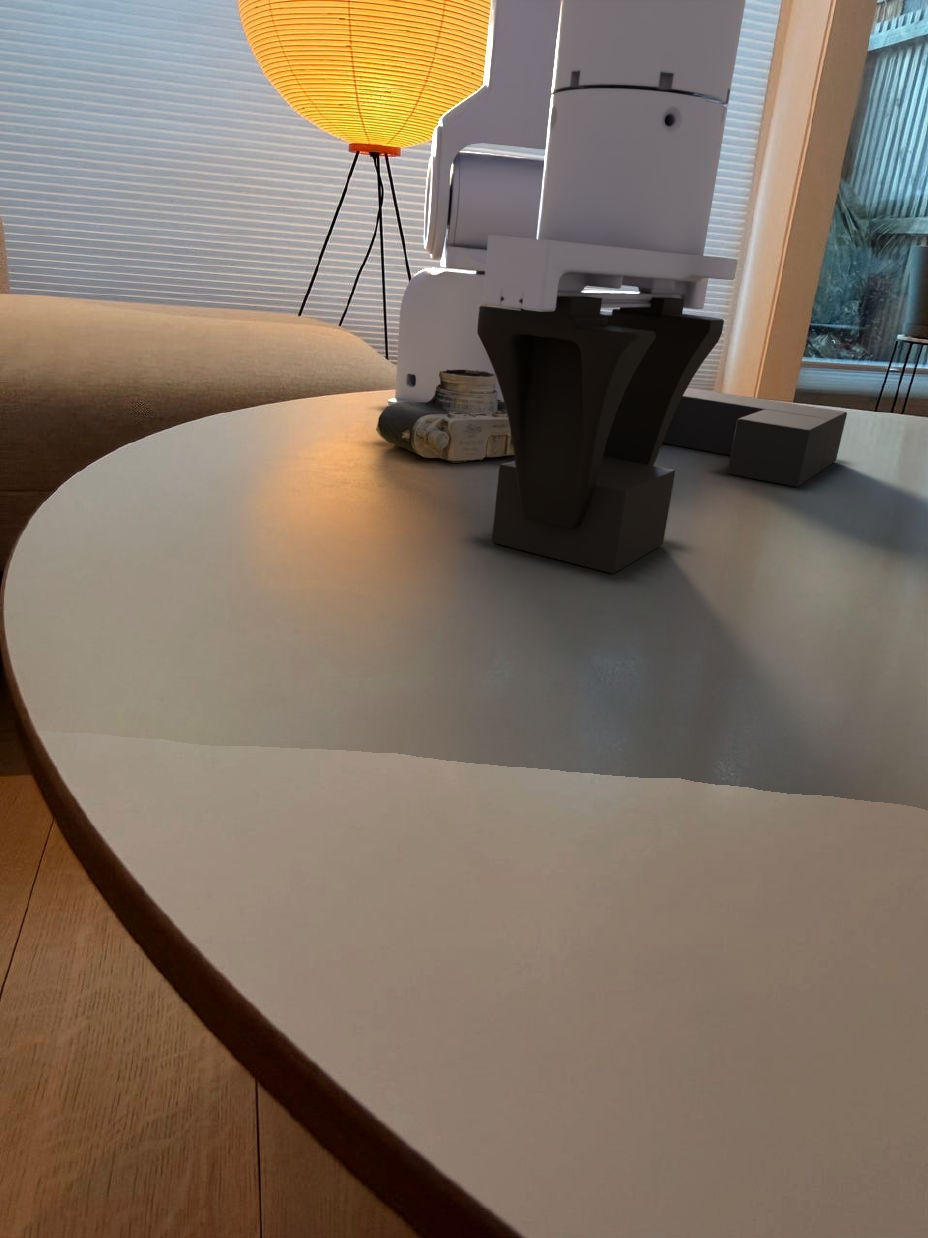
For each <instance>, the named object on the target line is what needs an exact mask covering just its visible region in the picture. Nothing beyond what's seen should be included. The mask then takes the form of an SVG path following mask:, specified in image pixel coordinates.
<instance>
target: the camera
mask: <svg viewBox="0 0 928 1238" xmlns="http://www.w3.org/2000/svg"><path fill="white" fill-rule="evenodd" d="M439 377H440V384H439V385H438V386H437V387H436V391H435V395H434V396H433V398H432V399H431V400H430V401H428V402H407V401H403V402H395V403H393V404H391V405H390V406H388V405H387V406H385V408H384V409H383V410H382V412H381V413H380V414H379V416H378V419H377V420H378V421H377V424H376V428H375V431H376V432H377V434H378V435H379V436H380V438H382V439H383V440H384V441H386V442H388V443H389V444H393V445H396V446H398V447H401V448H402V449H405V450H408V451H409V452H412V453H414V454H416V455H417V456H421V457H422V458H428V459H435V458H436V459H437V458H438V459H442V460H444V461H446V462H448V463H453V464H454V463H458V464H459V463H467V462H468V461H476V460H483V459H484V458H498V457H504V456H514V449H513V443H512V437H511V431H510V425H509V420H508V415H507V411H506V407H505V403H504V401H503V402H502V401H501V400H497V393H498V392H497V391H496V390H495V385H496V375H495V374H491V373H488V372H486V371H479V370H467V369H460V370H446V371H440V373H439Z"/></svg>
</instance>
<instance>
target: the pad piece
mask: <svg viewBox="0 0 928 1238" xmlns="http://www.w3.org/2000/svg"><path fill="white" fill-rule="evenodd" d="M498 467H499V468H498V476H497V485H496V494H495V495H496V497H495V506H494V514H493V515H494V516H493V526H492V536H491V543H492V544H497V545H500V546H504V547H506V548H507V547H508V548H512V549H515V550H520V551H523V552H527V553H530V554H531V553H532V554H534V555H535V554H536V555H539V556H543V557H547V558H550V559H554V560H557V561H561V562H565V563H570V564H573V565H577V566H582V567H585V568H589V569H593V570H597V571H600V572H604V573H608V574H612V575H613V574H616V573H617V572H619V571H620V570H622V569H624V568H625V567H627V566H629V565H630V564H632V563H634V562H636V561H637V560H639V559H641V558H643V557H644V556H646V555H647V554H649V553H651V552H652V551H654V550H656V549H657V548H659V547H661V546H663V545H664V541H665V535H666V529H667V524H668V523H667V522H668V518H669V512H670V507H671V506H670V505H671V500H672V494H673V488H674V482H675V475H676V470H675V469H672V468H667V467H661V466H657V465H654V466H652V465H646V464H641V463H636V462H631V461H626V460H621V459H616V458H611V457H606V456H603V458H602V462H601V466H600V470H599V474H598V478H597V482H596V486H595V489H594V492H593V495H592V498H591V501H590V504H589V507H588V509H587V512H586V514H585V516H584V519H583V521H582V523H581V525H580V527H578V528H575V529H566V528H562V527H558V526H554V525H549V524H545V523H541V522H537V521H533V520H529V519H525V518H524V517H523V513H522V507H521V501H520V495H519V488H518V480H517V472H516V464H515V459H514V460H511V461H508V462H504V463H500V464H499V465H498Z"/></svg>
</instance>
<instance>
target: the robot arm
mask: <svg viewBox="0 0 928 1238" xmlns="http://www.w3.org/2000/svg"><path fill="white" fill-rule="evenodd" d="M745 6H746V0H490V9H489V18H488V19H489V20H488V29H487V31H488V33H487V42H486V54H485V65H484V76H483V85H482V86H481V87H480V88H479V89H477V91H475V92H473V93H472V94H471V95H469V96H467V98H464V99H463V100H462V101H461V102H459V103H458V104H456V105H454V107H452V108H451V109H449V110H447V111H446V112H445V113H444V114H443V115H442V116H441V117H440V118H439V121H438V125H437V126H436V127H435V128H434V129H433V130H434V131H433V133H432V144H431V156H430V158H429V161H428V162H429V163H428V168H427V169H428V170H427V177H426V189H425V201H424V217H423V218H424V222H423V247H424V250H425V251H426V252H427V253H428V254H429V255H430V258H431V260H434V261H440V262H439V264H440V265H439V266H440V267H442V268H437V267H436V268H435V267H432V268H431V267H430V268H424V269H422V270H420V271H418V272H417V273H416V274H413V276H412V277H411V278H410V280H409V282H408V283H407V285H406V288H405V291H404V293H403V297H402V299H401V304H400V309H399V321H398V322H399V323H398V338H397V339H398V341H397V342H398V343H397V344H398V345H397V357H396V358H397V359H396V377H395V378H396V379H395V392H394V393H395V394H394V398H391V399H388V400H387V406H390V405H391V404H393V403H395V402H403V401H407V402H428V401H430V400H431V399H432V398H433V396H434V395H435V391H436V387H437V386H438V385H439V384H440V377H439V373H440V371H446V370H460V369H467V370H479V371H486V372H488V373H491V374H495V375H496V385H495V390H496V391H497V392H498V393H497V400H501V401H502V402H503V401H504V403H505V407H506V411H507V415H508V420H509V425H510V431H511V437H512V443H513V449H514V455H513V456H514V460H515V464H516V472H517V480H518V488H519V495H520V501H521V507H522V513H523V517H524V518H525V519H529V520H533V521H537V522H541V523H545V524H549V525H554V526H558V527H562V528H566V529H575V528H578V527H580V525H581V523H582V521H583V519H584V516H585V514H586V512H587V509H588V507H589V504H590V501H591V498H592V495H593V492H594V489H595V486H596V482H597V478H598V474H599V470H600V466H601V462H602V458H603V456H606V457H611V458H616V459H621V460H626V461H631V462H636V463H641V464H646V465H652V466H655V463H656V461H657V458H658V455H659V452H660V450H661V447H662V445H663V443H662V442H663V440H664V437H665V435H666V432H667V430H668V427H669V425H670V422H671V420H672V417H673V415H674V413H675V411H676V408H677V406H678V404H679V402H680V400H681V398H682V396H683V394H684V393H685V391H686V389H687V388H689V385H690V384H691V382H692V380H693V378H694V377H695V376H696V373H697V372H698V370H699V369H700V367H701V366H702V364H703V363H704V361H705V359H707V357H708V356H709V354H710V353H711V352H712V351H713V349H714V348H715V347H716V346H717V344H718V343H719V342H720V339H721V337H722V334H723V329H724V323H725V320H724V319H723V318H719V317H714V316H713V317H712V316H706V315H705V316H704V315H696V314H687V313H683V312H684V309H691V310H703V309H704V307H705V301H706V296H707V290H708V284H709V279H711V280H712V279H713V280H724V281H734V280H735V277H736V272H737V268H738V259H737V258H732V257H731V258H730V257H721V256H711V255H704V254H705V248H706V241H707V237H708V236H707V235H708V230H709V229H708V228H709V223H710V217H711V211H712V205H713V199H714V194H715V187H716V183H717V182H716V181H717V176H718V169H719V163H720V158H721V152H722V143H723V139H724V133H725V126H726V120H727V114H728V108H729V102H730V96H731V90H732V84H733V80H734V79H733V78H734V72H735V67H736V66H735V65H736V60H737V54H738V48H739V42H740V36H741V31H742V24H743V18H744V14H745V13H744V12H745V8H746V7H745ZM478 144H486V145H495V146H506V147H513V148H524V149H534V150H542V151H543V150H545V155H544V159H541V158H531V157H524V156H523V157H522V156H514V155H513V156H511V155H505V154H504V155H502V154H494V153H482V152H475V151H466V150H465V151H464V149H465V148H466V147H468V146H471V145H478ZM445 268H447V269H445ZM623 286H624V287H634V288H637V290H638V291H618V290H619V289H621V288H622V287H623ZM586 287H595V288H605V289H615V290H617V289H618V290H617V291H613V290H612V291H609V290H585V288H586ZM602 308H603V309H606V308H607V309H610V308H611V309H612V308H613V309H612V310H611V311H602Z"/></svg>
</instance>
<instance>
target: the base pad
mask: <svg viewBox="0 0 928 1238" xmlns="http://www.w3.org/2000/svg"><path fill="white" fill-rule="evenodd" d="M847 415H848V412H847V411H842V410H837V409H829V408H823V407H817V406H810V405H804V404H796V403H790V402H784V401H777V400H772V399H765V398H758V397H751V396H744V395H738V394H731V393H726V392H725V393H724V392H718V391H712V390H706V389H698V388H691V387H687V389H686V391H685V393H684V394H683V396H682V398H681V400H680V402H679V404H678V406H677V408H676V411H675V413H674V415H673V417H672V420H671V422H670V425H669V427H668V430H667V432H666V435H665V437H664V440H663V442H662V444H667V445H672V446H677V447H682V448H688V449H694V450H699V451H704V452H709V453H710V452H711V453H716V454H721V455H727V456H730V457H729V463H728V467H727V474H728V475H731V476H737V477H743V478H747V479H752V480H758V481H762V482H769V483H774V484H779V485H784V486H787V487H788V486H789V487H794V488H799V486H801V485H803V484H804V483H806V482H807V481H809V480H810V479H812V478H813V477H814V476H816V475H817V474H819V473H820V472H821V471H823V470H824V469H826V468H827V467H829V466H830V465H832V464H833V463H835V462H837V458H838V454H839V450H840V446H841V442H842V437H843V433H844V428H845V424H846V420H847Z"/></svg>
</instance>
